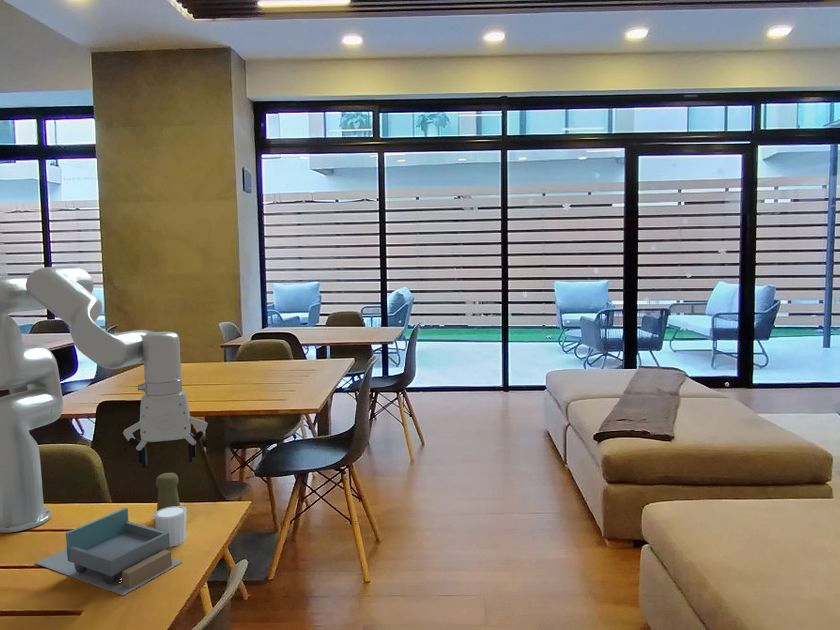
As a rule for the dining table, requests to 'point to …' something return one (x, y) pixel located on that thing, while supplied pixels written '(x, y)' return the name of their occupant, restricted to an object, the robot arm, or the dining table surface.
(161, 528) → the white tapered cup
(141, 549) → the cart
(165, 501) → the olive pepper shaker
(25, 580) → the dining table surface
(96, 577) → the track
